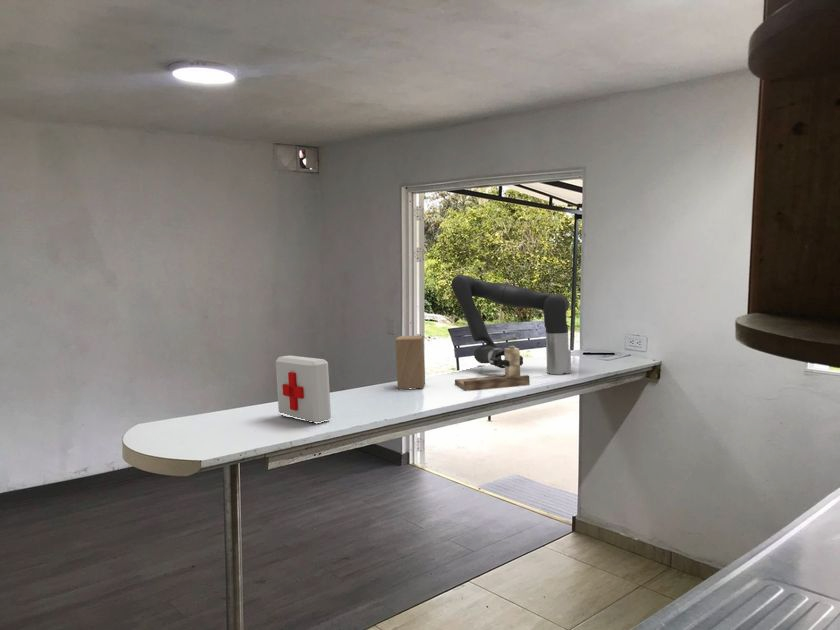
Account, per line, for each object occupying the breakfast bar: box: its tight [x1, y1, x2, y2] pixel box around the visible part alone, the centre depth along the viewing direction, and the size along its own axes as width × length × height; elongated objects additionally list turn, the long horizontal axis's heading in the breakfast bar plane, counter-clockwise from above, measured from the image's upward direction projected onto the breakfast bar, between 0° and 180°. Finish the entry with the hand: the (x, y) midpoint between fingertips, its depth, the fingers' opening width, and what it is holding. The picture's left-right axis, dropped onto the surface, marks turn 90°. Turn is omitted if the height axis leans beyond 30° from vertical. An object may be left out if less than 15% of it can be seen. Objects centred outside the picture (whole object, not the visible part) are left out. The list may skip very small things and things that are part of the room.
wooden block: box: [395, 335, 426, 390], centre depth 261 cm, size 10×10×20 cm
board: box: [454, 374, 531, 392], centre depth 259 cm, size 26×14×4 cm, turn 104°
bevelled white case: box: [275, 355, 332, 422], centre depth 214 cm, size 21×8×20 cm, turn 46°
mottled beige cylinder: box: [503, 345, 521, 377], centre depth 258 cm, size 4×4×13 cm
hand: (514, 363), depth 255 cm, fingers closed on mottled beige cylinder, 4 cm apart
